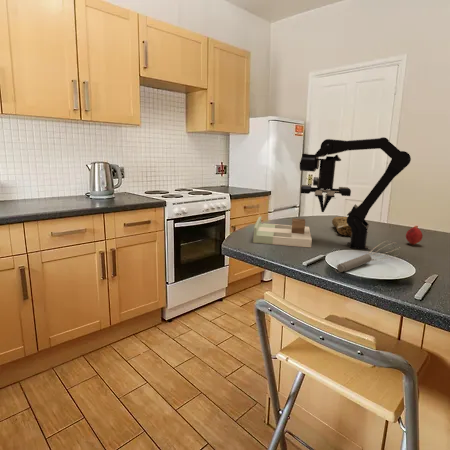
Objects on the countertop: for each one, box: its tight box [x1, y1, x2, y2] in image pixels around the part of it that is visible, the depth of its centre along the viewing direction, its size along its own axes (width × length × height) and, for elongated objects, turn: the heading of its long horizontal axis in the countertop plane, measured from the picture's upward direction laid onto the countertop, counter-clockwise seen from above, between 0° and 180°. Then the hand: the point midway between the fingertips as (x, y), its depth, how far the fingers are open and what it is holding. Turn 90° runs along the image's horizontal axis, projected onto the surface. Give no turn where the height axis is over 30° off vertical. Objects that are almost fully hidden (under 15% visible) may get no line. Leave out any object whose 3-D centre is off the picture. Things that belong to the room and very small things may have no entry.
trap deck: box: [252, 216, 313, 248], centre depth 138 cm, size 22×22×6 cm
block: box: [291, 218, 306, 234], centre depth 136 cm, size 5×5×5 cm
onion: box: [405, 225, 424, 246], centre depth 134 cm, size 6×6×8 cm
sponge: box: [331, 216, 352, 238], centre depth 152 cm, size 13×8×20 cm
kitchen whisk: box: [334, 240, 400, 274], centre depth 110 cm, size 6×34×6 cm, turn 125°
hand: (322, 211), depth 133 cm, fingers closed
